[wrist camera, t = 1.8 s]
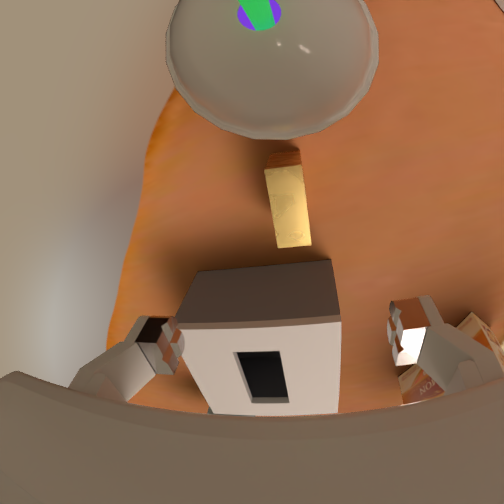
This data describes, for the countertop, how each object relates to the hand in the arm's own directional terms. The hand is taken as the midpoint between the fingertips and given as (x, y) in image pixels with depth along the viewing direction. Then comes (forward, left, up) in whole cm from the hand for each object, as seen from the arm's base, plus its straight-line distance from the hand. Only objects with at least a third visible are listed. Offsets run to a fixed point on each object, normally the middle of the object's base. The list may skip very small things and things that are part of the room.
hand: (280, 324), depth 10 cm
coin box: (+4, +15, -17) cm, 23 cm away
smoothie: (-1, -10, -18) cm, 20 cm away
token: (0, 0, -17) cm, 17 cm away
